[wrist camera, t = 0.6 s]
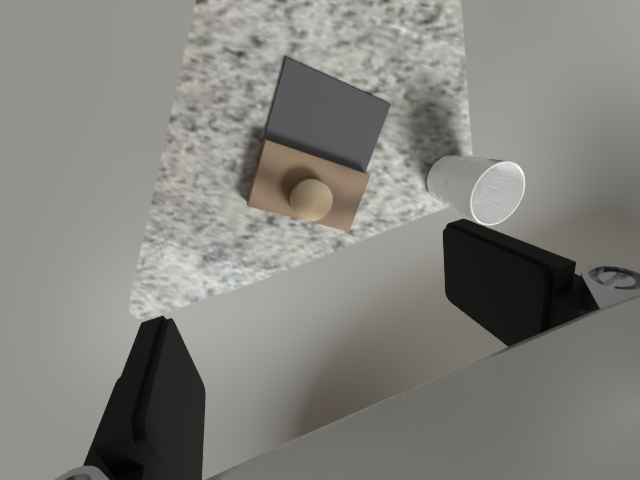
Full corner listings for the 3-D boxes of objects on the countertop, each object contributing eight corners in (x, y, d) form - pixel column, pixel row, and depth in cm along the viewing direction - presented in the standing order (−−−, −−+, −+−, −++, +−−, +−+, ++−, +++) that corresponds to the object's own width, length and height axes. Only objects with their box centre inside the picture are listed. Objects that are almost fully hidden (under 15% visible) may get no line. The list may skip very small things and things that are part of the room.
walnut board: (264, 138, 38) (266, 140, 36) (364, 172, 43) (370, 175, 41) (246, 201, 40) (247, 206, 38) (343, 226, 45) (348, 231, 43)
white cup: (460, 139, 45) (518, 147, 36) (474, 185, 49) (530, 202, 40) (415, 170, 45) (462, 185, 36) (432, 213, 49) (479, 237, 40)
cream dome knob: (296, 172, 38) (300, 175, 36) (333, 183, 40) (338, 187, 38) (284, 211, 40) (287, 215, 38) (320, 220, 41) (324, 225, 40)
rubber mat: (286, 57, 35) (286, 57, 35) (389, 104, 40) (390, 104, 40) (264, 138, 38) (264, 138, 37) (364, 172, 43) (365, 172, 43)
